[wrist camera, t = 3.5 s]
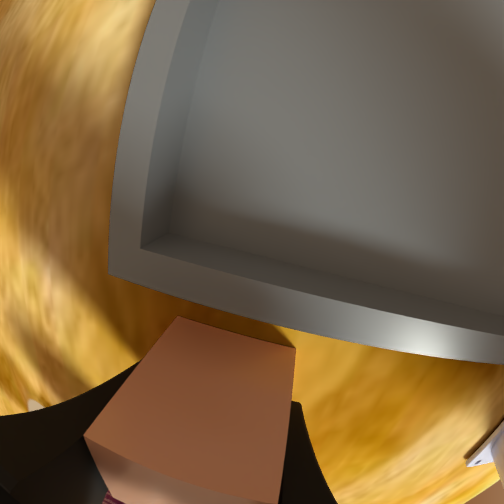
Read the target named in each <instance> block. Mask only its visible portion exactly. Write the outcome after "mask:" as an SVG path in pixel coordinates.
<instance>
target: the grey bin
mask: <svg viewBox="0 0 504 504" xmlns="http://www.w3.org/2000/svg"><path fill="white" fill-rule="evenodd" d="M108 274H109V275H112V276H115V277H118V278H121V279H123V280H126V281H129V282H132V283H135V284H138V285H141V286H144V287H147V288H150V289H153V290H156V291H159V292H162V293H165V294H168V295H172V296H175V297H178V298H181V299H184V300H188V301H191V302H194V303H198V304H201V305H204V306H208V307H211V308H215V309H218V310H222V311H225V312H229V313H232V314H236V315H240V316H243V317H247V318H251V319H255V320H258V321H262V322H266V323H270V324H274V325H278V326H282V327H286V328H290V329H294V330H299V331H303V332H307V333H312V334H316V335H320V336H325V337H330V338H334V339H339V340H344V341H348V342H353V343H358V344H363V345H369V346H374V347H379V348H385V349H390V350H396V351H402V352H408V353H414V354H421V355H427V356H434V357H441V358H448V359H456V360H464V361H473V362H482V363H492V364H503V365H504V0H156V2H155V5H154V8H153V10H152V13H151V16H150V19H149V21H148V24H147V27H146V30H145V33H144V36H143V40H142V43H141V46H140V49H139V53H138V56H137V60H136V63H135V67H134V71H133V75H132V79H131V83H130V87H129V91H128V95H127V100H126V104H125V109H124V114H123V119H122V125H121V130H120V136H119V142H118V148H117V155H116V162H115V170H114V178H113V187H112V198H111V210H110V225H109V247H108Z"/></svg>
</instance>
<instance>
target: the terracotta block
mask: <svg viewBox="0 0 504 504" xmlns="http://www.w3.org/2000/svg"><path fill="white" fill-rule="evenodd" d="M295 354H296V348H292V347H287V346H283V345H279V344H275V343H271V342H267V341H263V340H259V339H255V338H252V337H248V336H244V335H241V334H237V333H233V332H230V331H226V330H223V329H219V328H216V327H212V326H209V325H206V324H202V323H199V322H196V321H193V320H190V319H186V318H183V317H180V316H177V317H176V318H175V320H174V321H173V322H172V323H171V325H170V326H169V327H168V328H167V329H166V331H165V332H164V333H163V334H162V336H161V337H160V338H159V339H158V341H157V342H156V343H155V344H154V346H153V347H152V348H151V349H150V351H149V352H148V353H147V354H146V356H145V357H144V358H143V359H142V361H141V362H140V363H139V364H138V366H137V367H136V368H135V369H134V371H133V372H132V373H131V375H130V376H129V377H128V378H127V380H126V381H125V382H124V383H123V385H122V386H121V387H120V388H119V390H118V391H117V392H116V394H115V395H114V396H113V397H112V399H111V400H110V401H109V403H108V404H107V405H106V406H105V408H104V409H103V410H102V412H101V413H100V414H99V415H98V417H97V418H96V419H95V421H94V422H93V423H92V424H91V426H90V427H89V428H88V430H87V431H86V432H85V434H84V435H83V436H84V439H85V441H86V443H87V446H88V448H89V450H90V453H91V455H92V457H93V459H94V461H95V464H96V466H97V468H98V470H99V472H100V474H101V476H102V478H103V480H104V482H105V484H106V486H107V487H108V489H109V491H110V493H111V495H112V497H113V498H115V499H117V500H119V501H122V502H124V503H126V504H278V499H279V493H280V486H281V479H282V473H283V465H284V458H285V451H286V443H287V435H288V426H289V417H290V408H291V398H292V388H293V378H294V366H295Z"/></svg>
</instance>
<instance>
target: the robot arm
mask: <svg viewBox="0 0 504 504" xmlns="http://www.w3.org/2000/svg"><path fill="white" fill-rule="evenodd" d="M141 361H142V360H140V361H139V362H137V363H136V364H134V365H133V366H131V367H129V368H128V369H126V370H125V371H123V372H121V373H120V374H118V375H117V376H115V377H113V378H111V379H110V380H108V381H106V382H104V383H103V384H101V385H99V386H97V387H95V388H93V389H91V390H89V391H87V392H85V393H83V394H81V395H79V396H77V397H74V398H72V399H70V400H67V401H64V402H62V403H59V404H56V405H53V406H50V407H46V408H43V409H40V410H35V411H31V412H26V413H20V414H13V415H5V416H0V504H102V502H103V500H104V498H105V495H106V493H107V491H108V487H107V486H106V484H105V482H104V480H103V478H102V476H101V474H100V472H99V470H98V468H97V466H96V464H95V461H94V459H93V457H92V455H91V453H90V450H89V448H88V446H87V443H86V441H85V439H84V436H83V435H84V434H85V432H86V431H87V430H88V428H89V427H90V426H91V424H92V423H93V422H94V421H95V419H96V418H97V417H98V415H99V414H100V413H101V412H102V410H103V409H104V408H105V406H106V405H107V404H108V403H109V401H110V400H111V399H112V397H113V396H114V395H115V394H116V392H117V391H118V390H119V388H120V387H121V386H122V385H123V383H124V382H125V381H126V380H127V378H128V377H129V376H130V375H131V373H132V372H133V371H134V369H135V368H136V367H137V366H138V364H139V363H140V362H141ZM491 462H494V463H495V466H496V469H497V471H498V474H499V477H500V480H501V482H502V485H503V488H504V421H503V422H502V423H501V424H500V425H499V427H498V428H497V429H496V430H495V431H494V432H493V433H492V435H491V436H490V437H489V438H488V439H487V440H486V441H485V442H484V443H483V444H482V445H481V447H480V448H479V449H478V450H477V451H476V452H475V453H474V454H473V455H472V456H471V457H470V458H469V459H468V460H467V461H466V466H467V467H472V466H477V465H482V464H486V463H491ZM278 504H338V503H337V502H336V500H335V498H334V496H333V494H332V493H331V491H330V489H329V487H328V485H327V483H326V481H325V478H324V476H323V474H322V471H321V469H320V467H319V464H318V462H317V459H316V456H315V453H314V450H313V447H312V444H311V441H310V438H309V435H308V431H307V428H306V424H305V420H304V415H303V411H302V405H301V404H300V403H299V402H294V401H291V408H290V417H289V426H288V435H287V443H286V451H285V458H284V465H283V473H282V479H281V486H280V493H279V499H278Z"/></svg>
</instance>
